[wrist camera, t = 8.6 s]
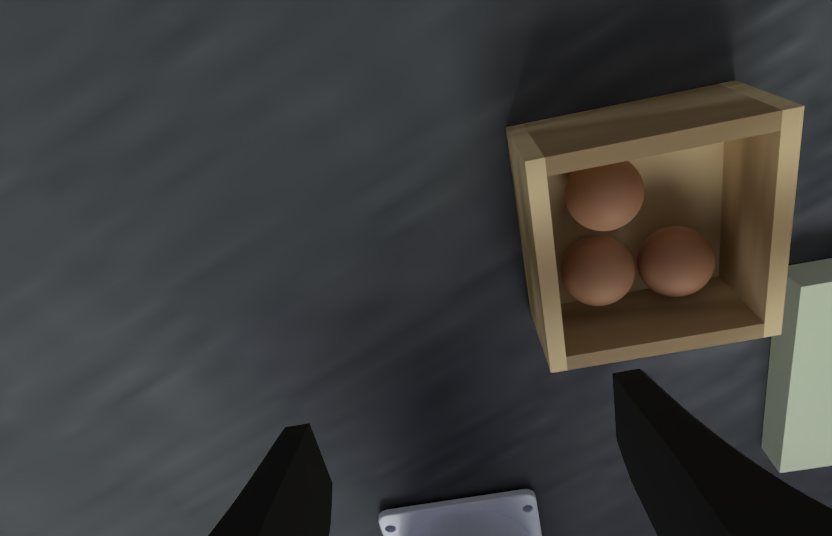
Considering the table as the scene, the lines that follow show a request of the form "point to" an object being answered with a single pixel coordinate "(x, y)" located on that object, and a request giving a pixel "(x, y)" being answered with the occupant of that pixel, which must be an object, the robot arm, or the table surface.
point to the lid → (801, 373)
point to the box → (657, 222)
